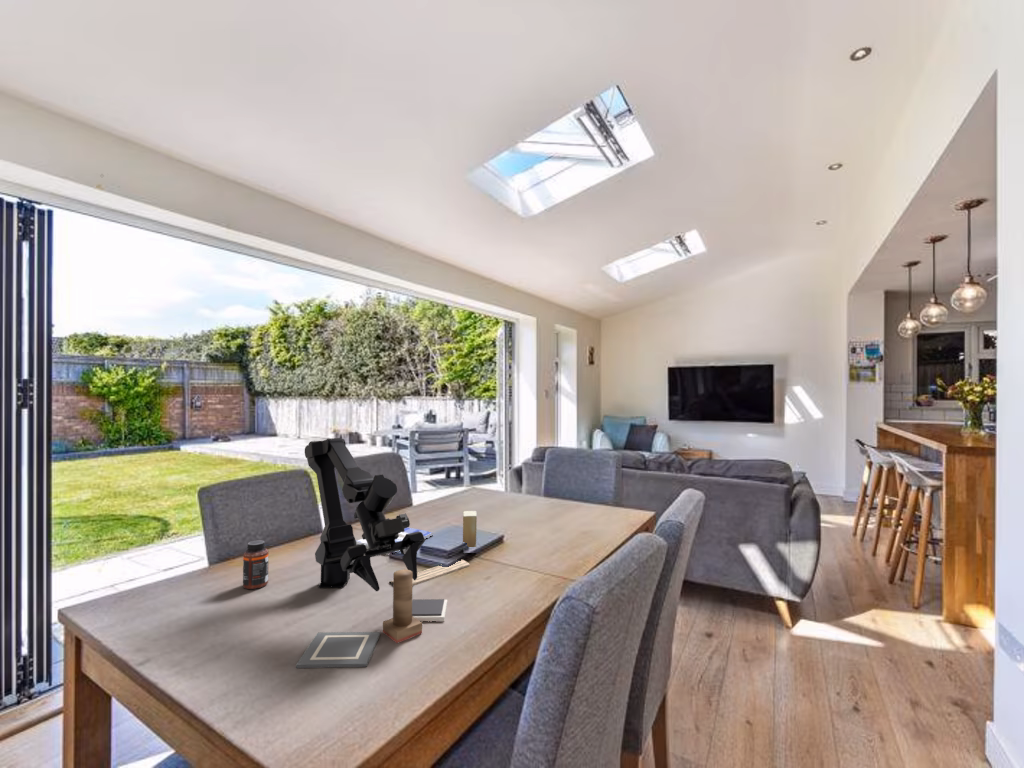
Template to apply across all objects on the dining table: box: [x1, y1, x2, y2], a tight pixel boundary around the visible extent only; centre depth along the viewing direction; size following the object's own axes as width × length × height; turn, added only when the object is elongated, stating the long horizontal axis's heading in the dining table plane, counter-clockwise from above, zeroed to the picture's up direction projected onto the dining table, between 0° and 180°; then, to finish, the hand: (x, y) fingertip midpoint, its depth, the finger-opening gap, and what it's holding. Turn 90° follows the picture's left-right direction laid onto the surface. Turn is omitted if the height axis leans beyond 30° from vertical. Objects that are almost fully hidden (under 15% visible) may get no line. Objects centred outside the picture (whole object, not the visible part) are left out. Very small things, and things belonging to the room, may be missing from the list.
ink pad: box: [412, 598, 448, 623], centre depth 115 cm, size 9×9×1 cm
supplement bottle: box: [242, 539, 270, 590], centre depth 129 cm, size 6×6×11 cm
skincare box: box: [462, 510, 478, 548], centre depth 158 cm, size 6×4×12 cm
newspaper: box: [388, 559, 471, 587], centre depth 139 cm, size 24×7×2 cm, turn 137°
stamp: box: [382, 569, 423, 644], centre depth 105 cm, size 6×6×13 cm
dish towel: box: [355, 527, 432, 556], centre depth 166 cm, size 17×24×3 cm
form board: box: [295, 631, 381, 669], centre depth 98 cm, size 13×12×1 cm
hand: (397, 584), depth 107 cm, fingers open, 9 cm apart
